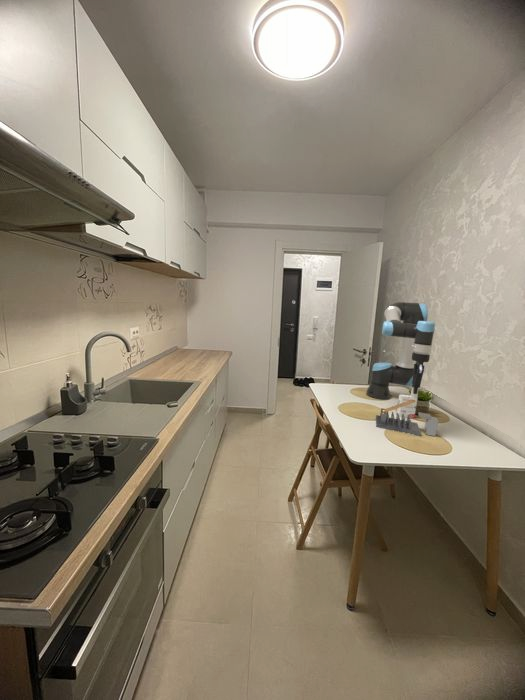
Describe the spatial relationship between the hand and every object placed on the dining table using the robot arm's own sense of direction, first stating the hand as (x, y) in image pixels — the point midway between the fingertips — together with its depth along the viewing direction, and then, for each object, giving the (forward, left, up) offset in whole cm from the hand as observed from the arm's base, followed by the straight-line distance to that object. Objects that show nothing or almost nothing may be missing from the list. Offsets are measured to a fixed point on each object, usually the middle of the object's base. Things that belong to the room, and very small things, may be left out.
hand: (413, 399), depth 140 cm
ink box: (-20, +1, -16) cm, 26 cm away
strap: (0, -6, -6) cm, 8 cm away
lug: (0, +8, -16) cm, 18 cm away
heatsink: (0, -5, -16) cm, 17 cm away
